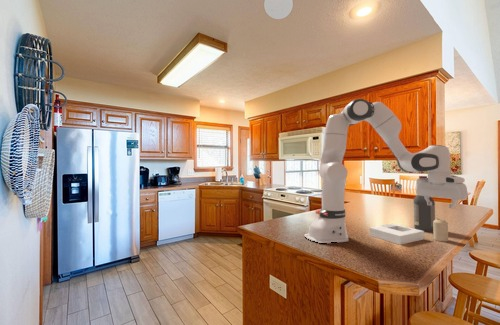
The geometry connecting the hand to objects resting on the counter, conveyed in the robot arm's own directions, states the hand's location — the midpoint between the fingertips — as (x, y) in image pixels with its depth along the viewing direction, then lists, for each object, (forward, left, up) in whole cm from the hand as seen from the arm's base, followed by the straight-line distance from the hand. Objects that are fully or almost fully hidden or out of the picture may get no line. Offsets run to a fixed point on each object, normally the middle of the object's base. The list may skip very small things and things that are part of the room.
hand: (440, 206), depth 112 cm
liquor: (+12, +14, -16) cm, 25 cm away
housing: (-15, +12, -16) cm, 25 cm away
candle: (0, 0, -16) cm, 16 cm away
